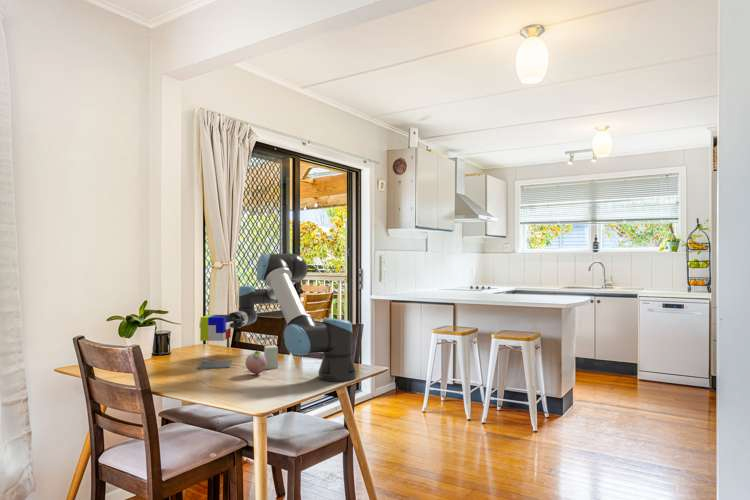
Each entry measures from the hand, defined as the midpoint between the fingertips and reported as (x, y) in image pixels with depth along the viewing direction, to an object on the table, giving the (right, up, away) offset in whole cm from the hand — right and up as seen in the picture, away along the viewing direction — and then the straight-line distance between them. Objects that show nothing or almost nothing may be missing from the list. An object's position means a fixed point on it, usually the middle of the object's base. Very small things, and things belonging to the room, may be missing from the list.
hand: (212, 325), depth 222 cm
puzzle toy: (+1, -6, +2) cm, 7 cm away
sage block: (+26, -18, -2) cm, 31 cm away
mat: (0, -18, +2) cm, 18 cm away
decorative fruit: (+23, -18, -16) cm, 33 cm away
